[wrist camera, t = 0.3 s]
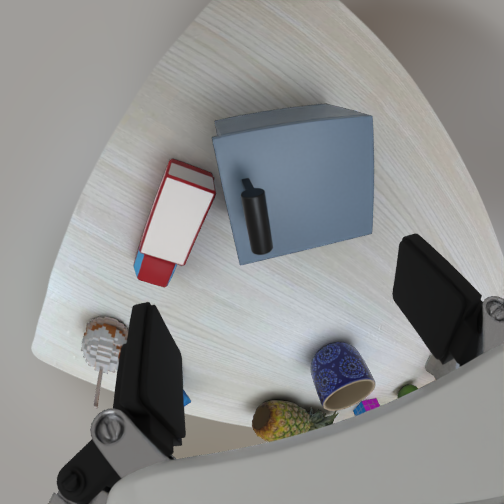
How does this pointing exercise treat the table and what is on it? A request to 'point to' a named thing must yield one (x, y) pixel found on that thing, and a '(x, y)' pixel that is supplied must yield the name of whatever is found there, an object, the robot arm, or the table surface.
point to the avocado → (406, 390)
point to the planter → (340, 376)
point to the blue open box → (280, 117)
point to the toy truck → (174, 221)
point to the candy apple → (103, 346)
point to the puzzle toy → (366, 406)
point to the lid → (297, 184)
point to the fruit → (286, 420)
